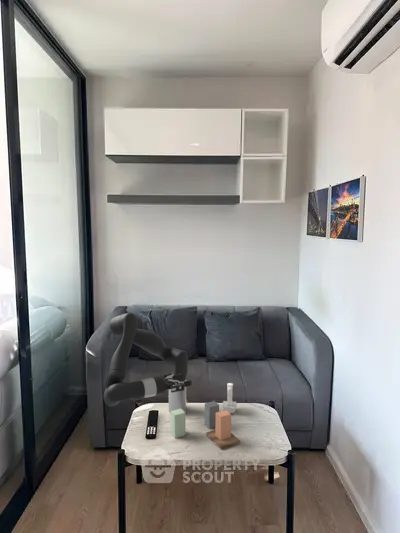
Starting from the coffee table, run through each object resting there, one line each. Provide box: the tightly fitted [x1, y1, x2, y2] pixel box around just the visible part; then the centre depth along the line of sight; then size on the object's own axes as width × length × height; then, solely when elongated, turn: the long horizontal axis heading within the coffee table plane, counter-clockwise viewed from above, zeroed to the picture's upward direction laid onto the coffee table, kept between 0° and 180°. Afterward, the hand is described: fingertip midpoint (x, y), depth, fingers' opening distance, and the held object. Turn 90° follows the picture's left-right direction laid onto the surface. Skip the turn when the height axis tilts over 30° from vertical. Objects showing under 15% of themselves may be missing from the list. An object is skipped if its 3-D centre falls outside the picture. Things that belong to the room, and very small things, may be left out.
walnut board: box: [205, 429, 241, 450], centre depth 171 cm, size 13×10×2 cm
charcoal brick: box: [204, 400, 220, 430], centre depth 183 cm, size 4×6×11 cm
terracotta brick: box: [214, 409, 232, 440], centre depth 171 cm, size 4×6×11 cm
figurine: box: [222, 382, 238, 414], centre depth 198 cm, size 7×9×15 cm
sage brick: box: [170, 409, 186, 439], centre depth 175 cm, size 4×6×11 cm
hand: (186, 379), depth 165 cm, fingers open, 8 cm apart
